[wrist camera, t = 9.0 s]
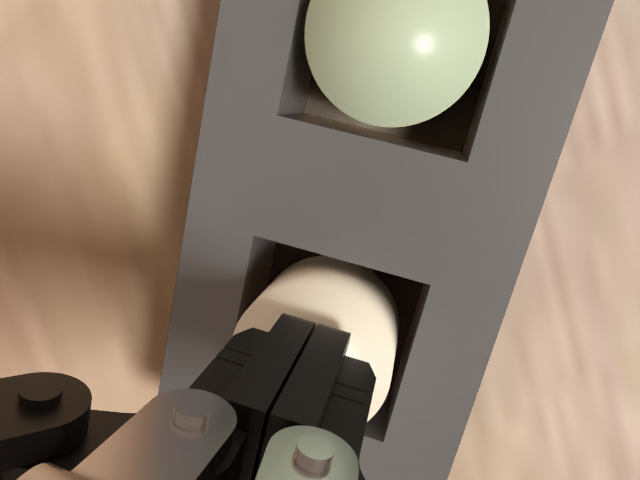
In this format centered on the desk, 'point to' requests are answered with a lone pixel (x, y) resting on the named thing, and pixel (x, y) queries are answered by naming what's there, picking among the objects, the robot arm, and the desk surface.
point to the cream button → (336, 311)
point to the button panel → (377, 207)
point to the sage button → (395, 55)
